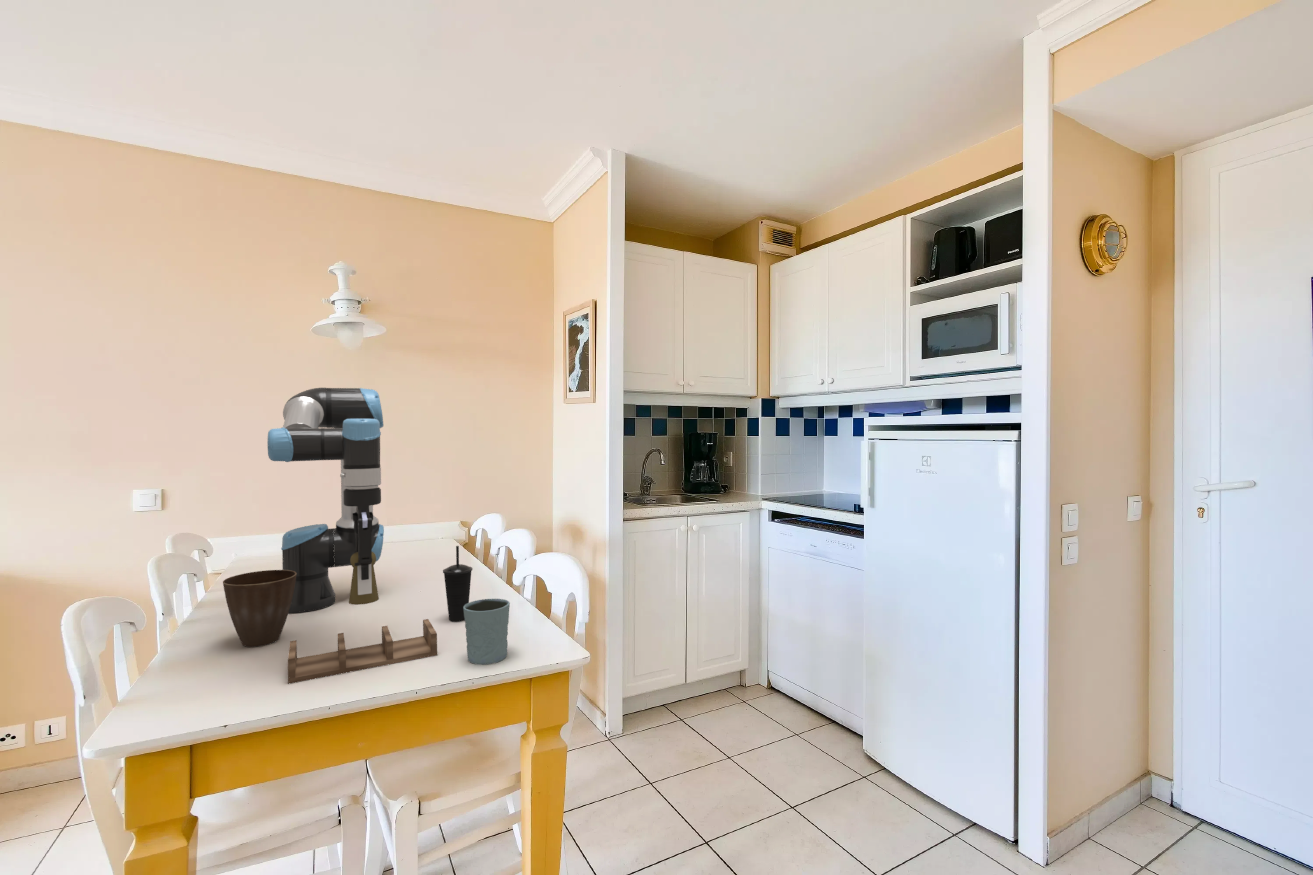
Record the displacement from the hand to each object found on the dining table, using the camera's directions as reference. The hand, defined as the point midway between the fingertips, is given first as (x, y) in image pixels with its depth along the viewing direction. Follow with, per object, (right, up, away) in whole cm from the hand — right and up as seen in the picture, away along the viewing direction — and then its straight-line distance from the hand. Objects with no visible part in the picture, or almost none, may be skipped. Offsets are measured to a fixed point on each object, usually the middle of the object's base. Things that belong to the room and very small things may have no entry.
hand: (363, 590), depth 130 cm
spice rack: (0, -16, 0) cm, 16 cm away
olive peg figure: (0, -2, 0) cm, 2 cm away
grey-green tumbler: (+27, -16, +1) cm, 31 cm away
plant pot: (-31, -16, +12) cm, 37 cm away
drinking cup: (+12, -15, +28) cm, 34 cm away
